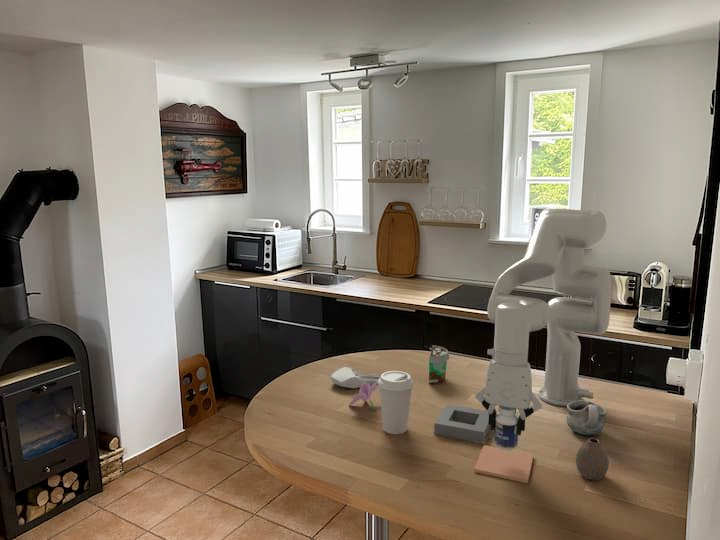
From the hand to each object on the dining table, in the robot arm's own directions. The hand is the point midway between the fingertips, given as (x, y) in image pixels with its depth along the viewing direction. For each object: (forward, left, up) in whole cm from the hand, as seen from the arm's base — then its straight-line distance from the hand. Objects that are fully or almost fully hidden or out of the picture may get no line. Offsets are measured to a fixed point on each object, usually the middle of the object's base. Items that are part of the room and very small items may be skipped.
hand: (506, 429), depth 128 cm
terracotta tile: (0, 0, -9) cm, 9 cm away
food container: (+28, -46, -9) cm, 55 cm away
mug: (-18, -24, -9) cm, 31 cm away
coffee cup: (+30, -7, -9) cm, 32 cm away
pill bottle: (0, 0, -4) cm, 4 cm away
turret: (+51, -33, -10) cm, 61 cm away
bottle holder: (+13, -15, -9) cm, 22 cm away
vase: (-19, -3, -9) cm, 21 cm away
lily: (+42, -17, -9) cm, 47 cm away
